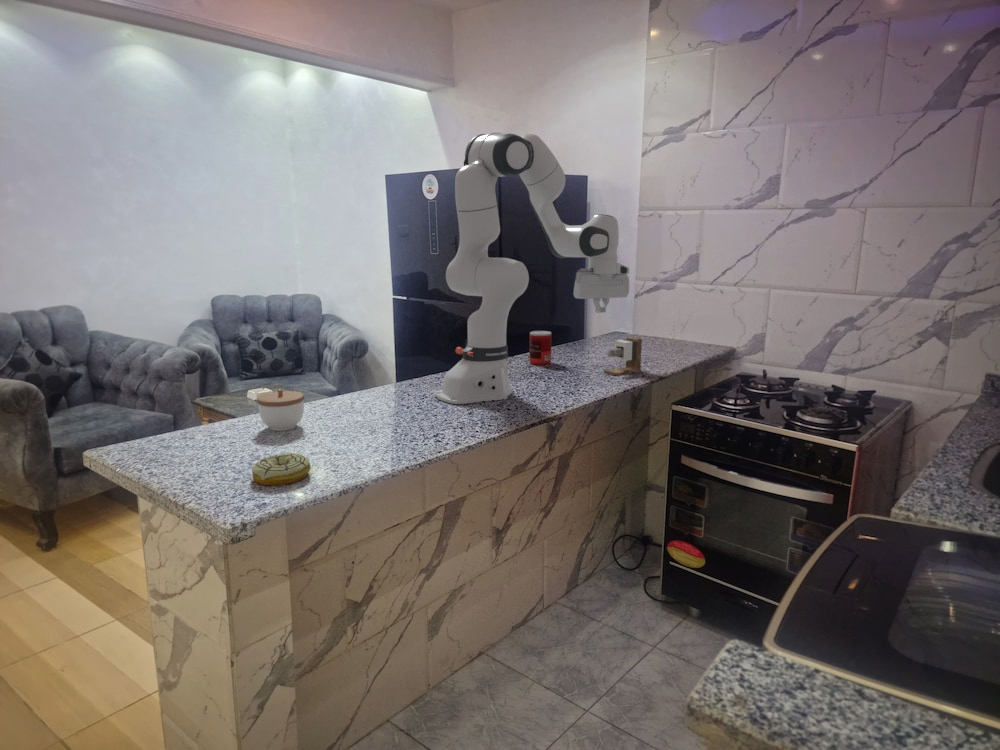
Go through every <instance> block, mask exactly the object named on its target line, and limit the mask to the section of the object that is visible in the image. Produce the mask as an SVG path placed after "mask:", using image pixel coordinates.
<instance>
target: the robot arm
mask: <svg viewBox="0 0 1000 750" xmlns="http://www.w3.org/2000/svg"><path fill="white" fill-rule="evenodd" d="M515 176H519V178H520V179H521V180H522V182H523V184H524V185H525V187H526V189H527V191H528V200H529V203H530V206H531V209H532V210H533V212H534V214H535V217H536V219H537V221H538V223H539V225H540V226H541V229H542V231H543V232H544V235H545V239H546V242H547V245H548V248H549V250H550V253H551V254H552V255H553V256H554V257H555V258H557V259H558V258H559V259H566V258H588V267H587V268H584V267H583V268H582V267H581V268H580V269H578V270H577V272H576V273H575V281H574V286H573V297H574V298H575V299H580V300H588V299H592V303H593V305H594V307H595V308H594V309H595V310H594V311H595V313H598V314H599V313H603V314H604V313H606V312H607V306H609V305H608V304H609V303H610V299H617V298H627V297H628V295H629V291H630V277H629V273H630V267H629V266H626V265H623V264H621V263H619V262H618V255H617V253H618V251H617V250H618V247H619V234H620V233H619V232H620V231H619V223H618V220H617V218H616V217H614V216H613V215H608V214H601V213H600V214H595V215H594V214H593V216H592V218H591V219H590V220H589V221H587V222H585V223H583V224H581V225H580V224H579V225H578V224H577V225H576V224H575V225H574V224H573V225H569V224H566V223H564V222H563V221H562V219H561V218H560V216H559V214H558V213H557V210H556V208H555V205H554V203H553V202H554V201H555V200H557V198H559V196H560V195H561V194H562V193H563V191H564V188H565V186H566V175H565V172H564V169H563V168H562V167H561V164H560V163H559V161H558V159H557V157H556V156H555V155H554V154H553V152H552V150H551V149H550V148H549V146H548V145H547V144H546V143H545V142H544V141H543V140H542V139H541V138H540V137H539V136H538V135H537V134H533V133H529V134H524V135H522V136H520V135H518V134H515V133H502V132H489V133H481V134H479V135H476V136H474V137H473V138H472V139H470V140H469V142H468V143H467V146H466V148H465V153H464V161H463V167H461V168H460V169H458V171H457V172H456V175H455V177H454V178H455V180H454V181H455V182H454V195H455V198H454V199H455V207H456V215H457V221H458V232H459V244H458V248H457V251H456V255H455V256H454V258H453V259H452V260H451V261H450V262H449V264H448V266H446V267H447V268H446V271H445V281H446V284H447V286H448V287H449V289H450V290H451V291H453V292H455V293H457V294H461V295H464V296H472V297H482V301H481V305H480V307H479V309H476V311H474V312H472V313H471V314H470V315H469V317H468V318H467V344H466V345H465V347H464V348H463V347H461V346H457V347H456V348H455V350H454V351H455V353H456V354H457V355H462V356H461V357H462V358H461V360H460V359H459V361H458V362H457V363H456V364H455V365H454V366H453V367H452V368H450V369H449V370H448V371H447V372H446V373H445V374H444V376H443V380H442V387H441V389H439V390H435V392H434V397H435V398H436V397H437V398H436V399H437V400H440V401H442V402H445V403H448V404H455V405H464V404H474V402H475V403H483V402H482V401H485V402H492V400H494V401H503V400H502V399H504V400H507V399H508V397H509V396H510V395H511V394H512V392H513V390H512V388H511V384H510V379H509V374H508V373H509V372H508V359H509V358H508V357H509V356H508V355H509V353H508V352H509V351H508V349H509V348H508V344H507V328H508V318H509V312H510V310H511V308H512V307H513V305H514V303H515V301H516V300H517V299H518V298H519V297H520V296H522V295H523V294H524V293H525V291H526V290H527V288H528V286H529V281H530V276H529V271H528V268H527V267H526V265H525V264H524V262H522V261H519V260H516V259H512V258H508V257H489V254H488V252H489V251H488V250H489V246H490V245H491V244H492V243H494V242H495V241H496V240H497V239H498V237H499V235H500V234H501V225H500V224H501V223H500V216H499V209H498V201H497V196H496V195H497V194H496V186H497V185H496V184H497V181H498V177H499V178H503V177H504V178H505V177H507V178H508V177H509V178H511V177H515ZM600 302H601V304H600Z"/></svg>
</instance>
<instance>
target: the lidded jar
mask: <svg viewBox="0 0 1000 750" xmlns="http://www.w3.org/2000/svg"><path fill="white" fill-rule="evenodd" d="M304 399H305V395H304V393H303V392H300V391H295V390H293V391H292V390H284V391H283V389H281V388H280V389H278V390H277V391H273V392H267V393H263V394H261V395H259V396H258V397H257V399H256V403H257V405H258V413H259V416H260V419H261V420H262V422H263V423H264V425H265V426H267V427H268V428H269V429H270V430H271V431H276V432H277V431H278V432H279V431H280V432H283V431H290V430H292V429H295V428H296V427H297V425H298V424H299V423H300V422H301V420H302V418H303V415H304V412H305V401H304Z"/></svg>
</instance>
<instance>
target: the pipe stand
mask: <svg viewBox="0 0 1000 750" xmlns="http://www.w3.org/2000/svg"><path fill="white" fill-rule="evenodd" d="M626 339H627V340H632V341H637V353H636V359H635V360H629V361H625V367H619V368H613V369H607V370H603V374H605V373H607V374H606V375H609V374H611V375H610V376H613V375H616V376H621V375H620V374H622V375H627V374H626V373H628V374H632V373H631V372H634V373H639V372H638V371H641V372H642V368H641V364H642V363H641V362H642V346H643V345H642V343H643V338H640V337H634V336H628V337H626ZM606 355H607V356H608V358H614V356H621V355H624V348H618V349H614V348H612V349H608V350H607V351H606Z"/></svg>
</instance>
